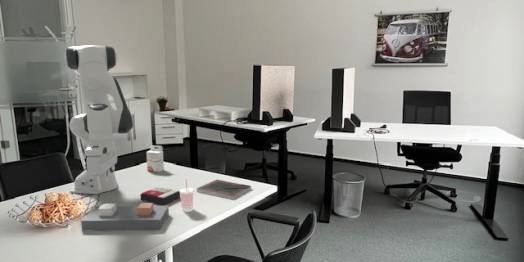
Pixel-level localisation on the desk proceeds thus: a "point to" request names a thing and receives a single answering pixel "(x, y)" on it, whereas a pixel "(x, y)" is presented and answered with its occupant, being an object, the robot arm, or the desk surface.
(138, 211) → the key terracotta
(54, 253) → the desk surface
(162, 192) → the calculator
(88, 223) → the console
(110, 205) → the key white
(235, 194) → the picture frame
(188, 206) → the beverage cup
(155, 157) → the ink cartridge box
